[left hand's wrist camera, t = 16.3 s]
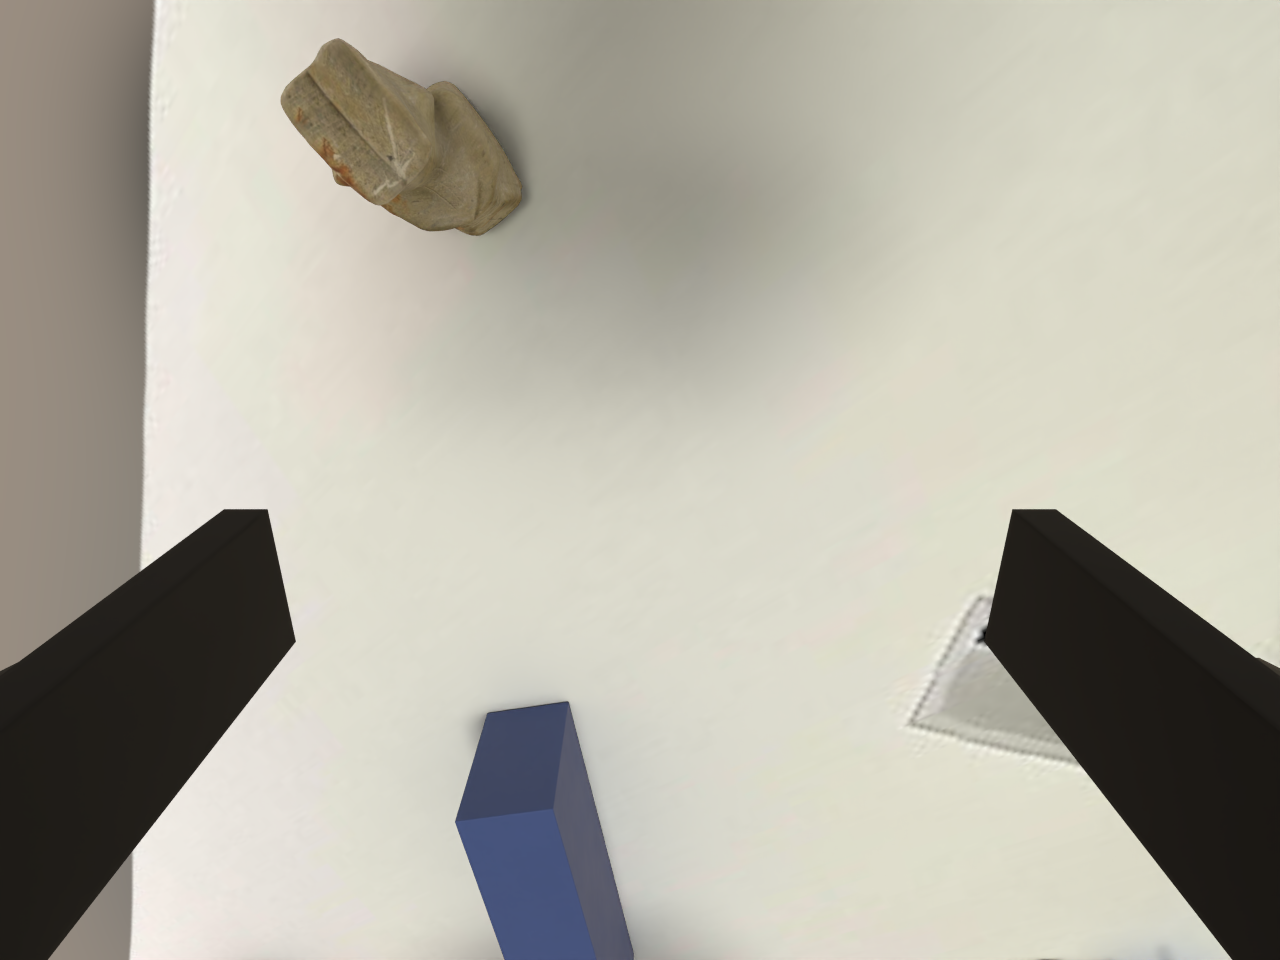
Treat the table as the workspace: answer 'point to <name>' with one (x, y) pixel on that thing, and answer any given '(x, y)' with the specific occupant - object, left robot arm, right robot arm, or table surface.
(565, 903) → the box
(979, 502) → the table surface
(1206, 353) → the table surface
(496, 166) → the sculpture
